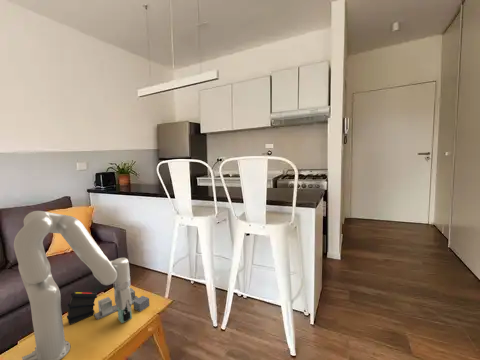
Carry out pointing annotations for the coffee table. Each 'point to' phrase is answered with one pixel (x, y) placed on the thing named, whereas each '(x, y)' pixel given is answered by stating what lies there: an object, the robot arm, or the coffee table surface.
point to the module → (120, 314)
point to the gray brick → (141, 303)
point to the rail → (110, 306)
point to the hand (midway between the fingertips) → (125, 317)
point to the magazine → (80, 306)
